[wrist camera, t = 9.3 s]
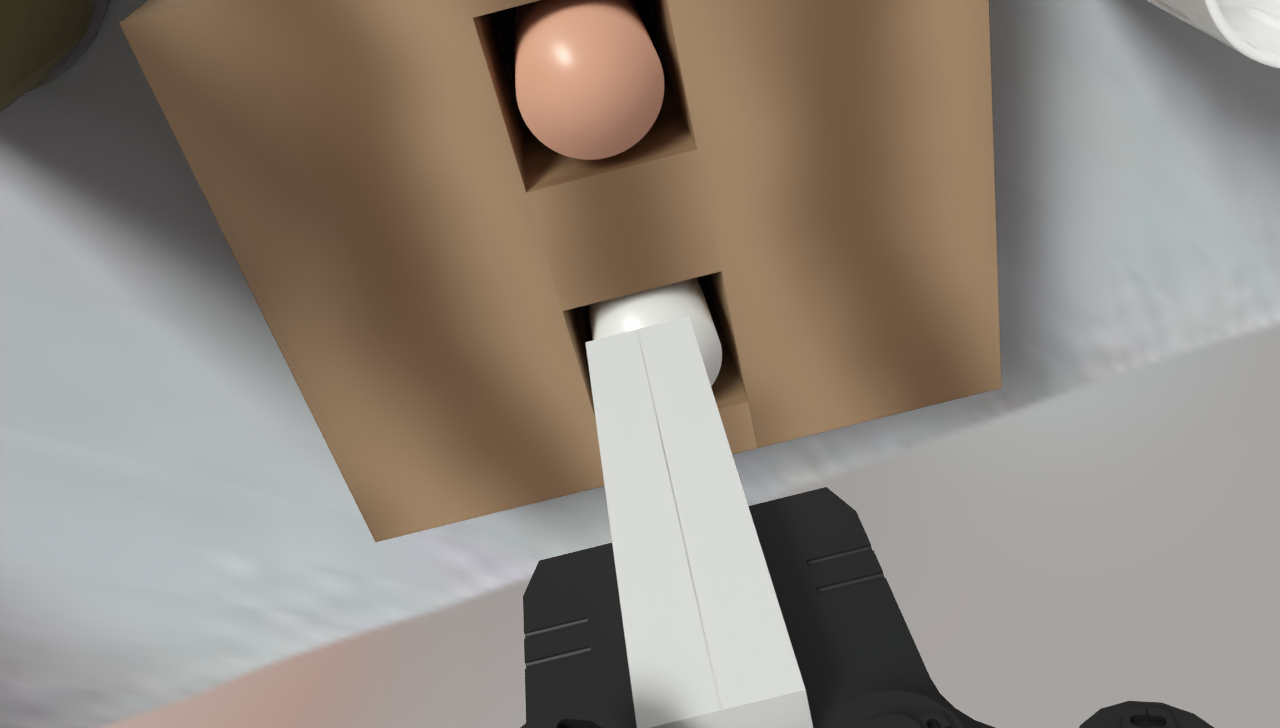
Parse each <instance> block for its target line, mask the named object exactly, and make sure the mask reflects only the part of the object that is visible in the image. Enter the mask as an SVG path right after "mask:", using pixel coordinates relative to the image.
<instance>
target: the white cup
mask: <svg viewBox="0 0 1280 728" xmlns="http://www.w3.org/2000/svg"><path fill="white" fill-rule="evenodd" d="M1147 1H1148V2H1150V3H1151V4H1153V5H1154V6H1156V7H1158V8H1160V9H1161V10H1163V11H1165V12H1167V13H1169V14H1170V15H1172V16H1174V17H1176V18H1178V19H1180V20H1181V21H1183V22H1185V23H1187V24H1189V25H1191V26H1192V27H1194V28H1196V29H1198V30H1200V31H1202V32H1203V33H1205V34H1207V35H1209V36H1211V37H1213V38H1214V39H1216V40H1218V41H1220V42H1222V43H1223V44H1225V45H1227V46H1229V47H1231V48H1232V49H1234V50H1236V51H1238V52H1239V53H1241V54H1243V55H1245V56H1247V57H1248V58H1250V59H1252V60H1254V61H1256V62H1259V63H1261V64H1264V65H1267V66H1271V67H1275V68H1280V0H1147Z"/></svg>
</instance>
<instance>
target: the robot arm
mask: <svg viewBox="0 0 1280 728" xmlns="http://www.w3.org/2000/svg"><path fill="white" fill-rule="evenodd" d="M585 343H586V350H587V358H588V365H589V373H590V380H591V388H592V395H593V403H594V410H595V418H596V425H597V433H598V440H599V448H600V455H601V463H602V470H603V478H604V485H605V493H606V500H607V507H608V515H609V522H610V530H611V537H612V543H609V544H605V545H601V546H597V547H593V548H589V549H585V550H581V551H577V552H573V553H569V554H565V555H561V556H557V557H552V558H548V559H544V560H540V561H539V562H538V565H537V567H536V569H535V571H534V573H533V576H532V578H531V580H530V582H529V584H528V587H527V589H526V592H525V594H524V596H523V605H524V606H523V607H524V633H525V639H524V645H525V646H524V649H525V663H526V669H525V685H526V686H525V687H526V688H525V690H526V724H525V725H523V726H522V727H521V728H995V727H992V726H989V725H986V724H984V723H981V722H978V721H975V720H973V719H972V718H970V717H969V716H967V715H965V714H964V713H962V712H960V711H959V710H957V709H955V708H954V707H953V706H952V705H951V704H950V703H949V702H948V701H947V700H946V699H945V698H944V697H943V696H942V695H941V694H940V693H939V691H938V690H937V688H936V686H935V685H934V683H933V682H932V680H931V678H930V676H929V674H928V672H927V670H926V668H925V665H924V663H923V661H922V658H921V656H920V654H919V652H918V649H917V647H916V645H915V643H914V640H913V638H912V636H911V634H910V631H909V629H908V627H907V625H906V622H905V620H904V618H903V616H902V613H901V611H900V609H899V607H898V604H897V603H896V600H895V598H894V596H893V593H892V591H891V589H890V587H889V584H888V582H887V580H886V578H884V575H883V571H882V569H881V566H880V564H879V562H878V560H877V558H876V555H875V553H874V551H872V548H871V544H870V542H869V539H868V537H867V535H866V533H865V530H864V528H863V526H862V524H861V521H860V519H859V517H858V515H857V513H856V511H855V510H854V509H852V508H851V507H850V506H849V505H848V504H846V503H845V502H844V501H843V500H841V499H840V498H839V497H838V496H837V495H835V494H834V493H833V492H832V491H830V490H829V489H828V488H827V487H825V488H821V489H817V490H813V491H809V492H805V493H801V494H797V495H792V496H788V497H784V498H780V499H776V500H772V501H768V502H764V503H760V504H756V505H752V506H748V504H747V500H746V497H745V494H744V491H743V488H742V484H741V481H740V478H739V475H738V471H737V468H736V465H735V462H734V459H733V455H732V452H731V449H730V446H729V443H728V439H727V436H726V433H725V430H724V427H723V423H722V420H721V417H720V414H719V411H718V407H717V404H716V401H715V398H714V395H713V391H712V388H711V385H710V382H709V378H708V375H707V372H706V369H705V366H704V362H703V359H702V356H701V353H700V350H699V346H698V343H697V340H696V337H695V334H694V330H693V327H692V324H691V321H690V318H689V316H688V317H684V318H680V319H676V320H672V321H668V322H664V323H660V324H656V325H652V326H648V327H644V328H640V329H636V330H632V331H628V332H624V333H620V334H616V335H612V336H608V337H604V338H600V339H596V340H592V341H588V342H585ZM1079 728H1214V727H1212V726H1211V725H1209V724H1208V723H1206V722H1205V721H1204V720H1202V719H1201V718H1199V717H1198V716H1196V715H1195V714H1193V713H1190V712H1187V711H1184V710H1181V709H1178V708H1175V707H1172V706H1169V705H1167V704H1164V703H1157V702H1137V701H1127V702H1124V703H1120V704H1117V705H1113V706H1109V707H1106V708H1102V709H1100V710H1099V711H1097V712H1096V713H1095V714H1094V715H1093V716H1091V717H1090V718H1089V719H1088V720H1086V721H1085V722H1084V723H1083V724H1081V725H1080V727H1079Z"/></svg>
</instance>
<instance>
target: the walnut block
mask: <svg viewBox="0 0 1280 728" xmlns="http://www.w3.org/2000/svg"><path fill="white" fill-rule="evenodd" d="M536 1H539V0H147V1H146V2H145V3H144V4H142V5H141V6H140V7H139V8H137V9H136V10H135V11H134V12H132V13H131V14H130V15H129V16H127V17H126V18H125V19H124V20H122V21H121V22H120V23H119V24H120V26H121V28H122V30H123V32H124V35H125V37H126V39H127V41H128V43H129V45H130V47H131V49H132V51H133V53H134V55H135V57H136V59H137V61H138V63H139V65H140V67H141V69H142V71H143V73H144V75H145V77H146V79H147V81H148V83H149V85H150V87H151V89H152V91H153V93H154V95H155V97H156V99H157V101H158V103H159V105H160V107H161V109H162V111H163V113H164V115H165V117H166V119H167V121H168V123H169V126H170V128H171V130H172V132H173V134H174V136H175V138H176V140H177V142H178V144H179V146H180V148H181V150H182V152H183V154H184V156H185V158H186V160H187V162H188V164H189V166H190V168H191V170H192V172H193V174H194V176H195V178H196V180H197V182H198V184H199V186H200V188H201V190H202V192H203V194H204V196H205V198H206V200H207V202H208V204H209V206H210V208H211V210H212V212H213V214H214V217H215V219H216V221H217V223H218V225H219V227H220V229H221V231H222V233H223V235H224V237H225V239H226V241H227V243H228V245H229V247H230V249H231V251H232V253H233V255H234V257H235V259H236V261H237V263H238V265H239V267H240V269H241V271H242V273H243V275H244V277H245V279H246V281H247V283H248V285H249V287H250V289H251V291H252V293H253V295H254V297H255V299H256V301H257V303H258V305H259V308H260V310H261V312H262V314H263V316H264V318H265V320H266V322H267V324H268V326H269V328H270V330H271V332H272V334H273V336H274V338H275V340H276V342H277V344H278V346H279V348H280V350H281V352H282V354H283V356H284V358H285V360H286V362H287V364H288V366H289V368H290V370H291V372H292V374H293V376H294V378H295V380H296V382H297V384H298V386H299V388H300V390H301V392H302V394H303V396H304V399H305V401H306V403H307V405H308V407H309V409H310V411H311V413H312V415H313V417H314V419H315V421H316V423H317V425H318V427H319V429H320V431H321V433H322V435H323V437H324V439H325V441H326V443H327V445H328V447H329V449H330V451H331V453H332V455H333V457H334V459H335V461H336V463H337V465H338V467H339V469H340V471H341V473H342V475H343V477H344V479H345V481H346V483H347V485H348V487H349V490H350V492H351V494H352V496H353V498H354V500H355V502H356V504H357V506H358V508H359V510H360V512H361V514H362V516H363V518H364V520H365V522H366V524H367V526H368V528H369V530H370V532H371V534H372V536H373V538H374V540H375V542H378V541H382V540H386V539H391V538H395V537H399V536H403V535H407V534H411V533H415V532H419V531H423V530H427V529H431V528H435V527H439V526H443V525H447V524H451V523H455V522H460V521H464V520H468V519H472V518H476V517H480V516H484V515H488V514H492V513H496V512H500V511H504V510H508V509H512V508H516V507H520V506H524V505H528V504H533V503H537V502H541V501H545V500H549V499H553V498H557V497H561V496H565V495H569V494H573V493H577V492H581V491H585V490H589V489H593V488H597V487H602V486H605V485H604V478H603V470H602V463H601V455H600V448H599V440H598V433H597V425H596V418H595V410H594V403H593V395H592V388H591V380H590V373H589V365H588V358H587V350H586V343H585V342H588V341H592V340H593V339H592V332H591V331H587V330H586V326H585V323H584V320H583V316H582V313H581V309H580V307H581V306H585V305H589V304H593V303H597V302H601V301H605V300H609V299H613V298H617V297H621V296H625V295H629V294H633V293H637V292H641V291H645V290H649V289H653V288H657V287H661V286H665V285H669V284H673V283H677V282H680V281H684V280H688V279H692V278H696V277H700V276H704V275H707V279H708V283H709V288H710V293H711V298H712V300H711V301H707V302H706V303H707V305H708V308H709V311H710V314H711V317H712V320H713V323H714V326H715V329H716V332H717V335H718V337H719V341H720V344H721V349H722V362H721V368H720V371H719V374H718V376H717V378H716V380H715V382H714V383H713V385H712V386H711V388H712V391H713V395H714V398H715V401H716V404H717V407H718V411H719V414H720V417H721V420H722V423H723V427H724V430H725V433H726V436H727V439H728V443H729V446H730V449H731V452H732V454H735V453H740V452H744V451H748V450H752V449H756V448H760V447H764V446H768V445H772V444H776V443H780V442H784V441H788V440H792V439H796V438H800V437H804V436H809V435H813V434H817V433H821V432H825V431H829V430H833V429H837V428H841V427H845V426H849V425H853V424H857V423H861V422H865V421H869V420H873V419H877V418H882V417H886V416H890V415H894V414H898V413H902V412H906V411H910V410H914V409H918V408H922V407H926V406H930V405H934V404H938V403H942V402H946V401H951V400H955V399H959V398H963V397H967V396H971V395H975V394H979V393H983V392H987V391H991V390H995V389H999V388H1001V359H1000V328H999V298H998V267H997V237H996V207H995V176H994V146H993V116H992V85H991V55H990V25H989V0H649V4H650V9H651V13H652V18H653V23H654V28H655V32H656V37H657V42H658V47H659V51H660V56H661V61H662V65H663V70H664V75H665V76H664V96H663V102H662V106H661V109H660V112H659V114H658V117H657V119H656V120H655V122H654V124H653V126H652V127H651V128H650V130H649V131H648V132H647V134H646V135H645V136H644V137H643V138H642V139H641V140H640V141H638V142H637V143H636V144H635V145H634V146H632V147H630V148H629V149H627V150H626V151H624V152H622V153H619V154H617V155H614V156H611V157H608V158H603V159H595V160H584V159H576V158H571V157H568V156H565V155H562V154H560V153H557V152H555V151H553V150H552V149H550V148H549V147H547V146H545V145H544V144H543V143H542V142H541V141H539V140H538V139H537V138H536V136H535V135H534V134H533V133H532V132H531V131H530V129H529V128H528V126H527V125H526V123H525V121H524V119H523V117H522V115H521V112H520V110H519V107H518V102H517V98H516V89H515V85H514V82H513V78H512V75H511V72H510V68H509V65H508V62H507V58H506V55H505V51H504V48H503V45H502V41H501V38H500V34H499V31H498V28H497V24H496V21H495V17H494V14H493V12H497V11H501V10H505V9H509V8H512V7H516V6H520V5H524V4H528V3H532V2H536Z"/></svg>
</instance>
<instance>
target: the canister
mask: <svg viewBox="0 0 1280 728" xmlns="http://www.w3.org/2000/svg"><path fill="white" fill-rule="evenodd" d="M108 1H109V0H0V112H1V111H2V110H4V109H5V108H6V107H8V106H9V105H10V104H11V103H13V102H14V101H15V100H16V99H18V98H19V97H20V96H22V95H23V94H24V93H26V92H28V91H30V90H33V89H35V88H37V87H39V86H42V85H44V84H46V83H49V82H50V81H51V80H53V79H54V78H56V77H57V76H59V75H60V74H61V73H63V72H64V71H66V70H67V69H69V68H70V67H71V66H72V65H73V64H74V63H75V62H76V61H77V60H78V58H79V57H80V56H81V55H82V54H83V52H84V51H85V50H86V49H87V47H88V46H89V44H90V43H91V42H92V40H93V39H94V37H95V36H96V34H97V32H98V29H99V26H100V23H101V21H102V18H103V15H104V12H105V10H106V7H107V4H108Z"/></svg>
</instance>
